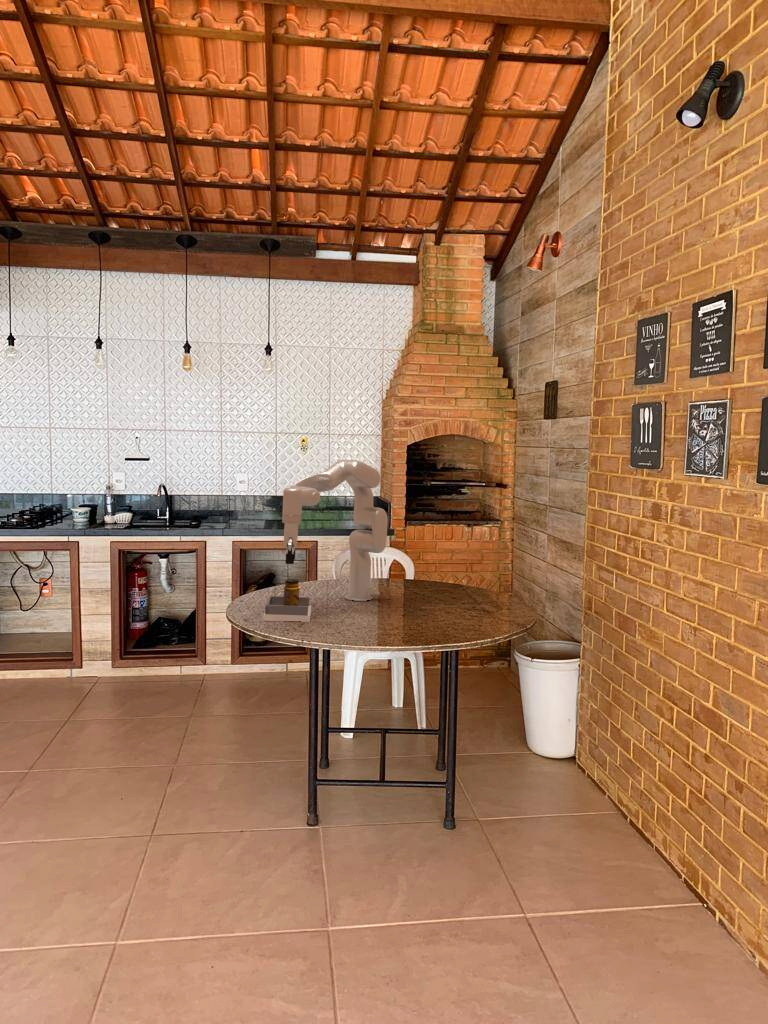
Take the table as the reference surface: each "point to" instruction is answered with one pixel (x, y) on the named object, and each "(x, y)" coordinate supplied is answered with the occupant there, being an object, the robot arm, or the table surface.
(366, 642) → the table surface
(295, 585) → the condiment
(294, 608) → the dock
